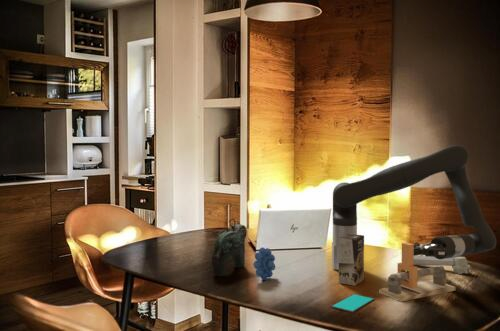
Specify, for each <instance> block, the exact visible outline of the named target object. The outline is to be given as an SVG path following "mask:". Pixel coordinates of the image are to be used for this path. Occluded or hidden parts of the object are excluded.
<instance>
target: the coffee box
mask: <svg viewBox="0 0 500 331" xmlns="http://www.w3.org/2000/svg"><path fill="white" fill-rule="evenodd" d="M364 278H365V235H362V234H357V235H351V234H347V235H345V236H343V237H340V238H339V270H338V284H344V285H348V286H356V285H358V284H360V283H361V282H362V281H364Z"/></svg>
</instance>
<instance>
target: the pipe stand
mask: <svg viewBox="0 0 500 331" xmlns="http://www.w3.org/2000/svg"><path fill="white" fill-rule="evenodd" d="M428 276H432V278H433V279H428V280H427V279H426V280H420V281H417V288H415V289H411V288H409V287H406V286H403V285H401V280H406V279H407V280H409V271H406V272H402V273H397V272H396V273H392V274H390V275H389V276H388V280H387V281H388V282H387V286H388V287H383V288H379V289H378V293H379V294H382V295H384V296H387V297H389V298H392V299H394V300H397V301H399V302H405V301H409V300H414V299H415V300H416V299H421V298H425V297H430V296H435V295H440V294H445V293H449V292H454V291H457V290H456V288H457V287H456V286H453V285H451V284H448V283H446V282H447V270H445V266H432V267H427V268H421V269H418V273H417V279H418V278H422V277H428Z"/></svg>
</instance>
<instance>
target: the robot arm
mask: <svg viewBox="0 0 500 331" xmlns="http://www.w3.org/2000/svg"><path fill="white" fill-rule="evenodd" d="M468 162H469V152H468V150H467V149H466V148H465V147H464V146H462V145H457V144H452V145H448V146H446V147H444V148H442V149H440V150H438V151H435V152H433V153H431V154H429V155H425V156H423V157H419V158H415V159H411V160H409V161H405V162H402V163H399V164H395V165H392V166H390V167H388V168H387V167H386V168H384V169H382V170H380V171H378V172H376V173H375V174H373V175H371V176H369V177H366V178H365V179H362V180H358V181H357V180H356V181H355V182H350V183H349V182H341V183H337V185H336V186H335V187H334V188H333V191H332V242H331V266H332V269H333V271H335V270H337V271H339V238H340V237H343V236H345V235H347V234H351V235H358V213H357V212H358V211H357V207H358V206H357V205H358V204H360V203H361V202H364V201H366V200H369V199H371V198H373V197H378V196H383V195H387V194H389V193H393V192H396V191H401V190H403V189H406V188H409V187H412V186H413V185H416V184H418V183H420V182H422V181H423V180H425V179H428V178H429V177H431V176H433V175H436V174H440V173H443V172H444V173H445V175H446V177H447V179H448V181H449V184H450V186H451V188H452V190H453V194H454V197H455V199H456V204H457V208H458V210H459V214H460V216H461V220H462V224H463V225H464V226H465V227H466V228H474V229H475V231H476V232H474V233H471V234H457V235H452V234H451V235H442V236H435V237H433V238H432V239H431V241H430V242H429V241H428V242H424V243H422V244H421V243H419V242H414V243H413V244H414V256H416V255H418V256H426V257H428V256H429V257H435V258H437V259H447V258H455V257H462V256H466V255H475V254H481V253H485V252H490V251H492V250H494V249H495V248H496V246H497V238H496V235H495V233H494V232H493V230H492V229H491V227H490V226H489V224H488V222H487V221H486V220H485V217H484V215H483V212H482V208H481V206H480V203H479V201H478V198H477V196H476V194H475V193H474V191H473V189H472V187H471V185H470V182H469V179H468V175H467V171H466V165H467V163H468Z"/></svg>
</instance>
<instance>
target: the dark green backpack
mask: <svg viewBox="0 0 500 331" xmlns="http://www.w3.org/2000/svg"><path fill="white" fill-rule="evenodd" d="M232 220H233V222H234V224H229V226H230V228H229V229H228V228H227V229H226V228H224V229H222V230H221V231H219V232H218V234H217V237H216V239H215V240H214V244H213V248H212V253H211V265H212V269H213V276H214V277H216V276H222V275H224V276H225V272H226V264H227V262H228V259H229V258H230V257H231V258H232V264H233V267H234V266H235V267H242V266H244V267H245V262H246V261H245V257H246V256H245V254H246V246H245V242H246V237H247V232H248V231H247V227H246V226H245V225H243V224H241V223H240V221H239V220H238V221H237V223H236V220H235V218H230V219H229V220H228V223H231V221H232ZM235 267H234V268H235ZM242 268H243V267H242ZM222 277H223V276H222Z"/></svg>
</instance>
